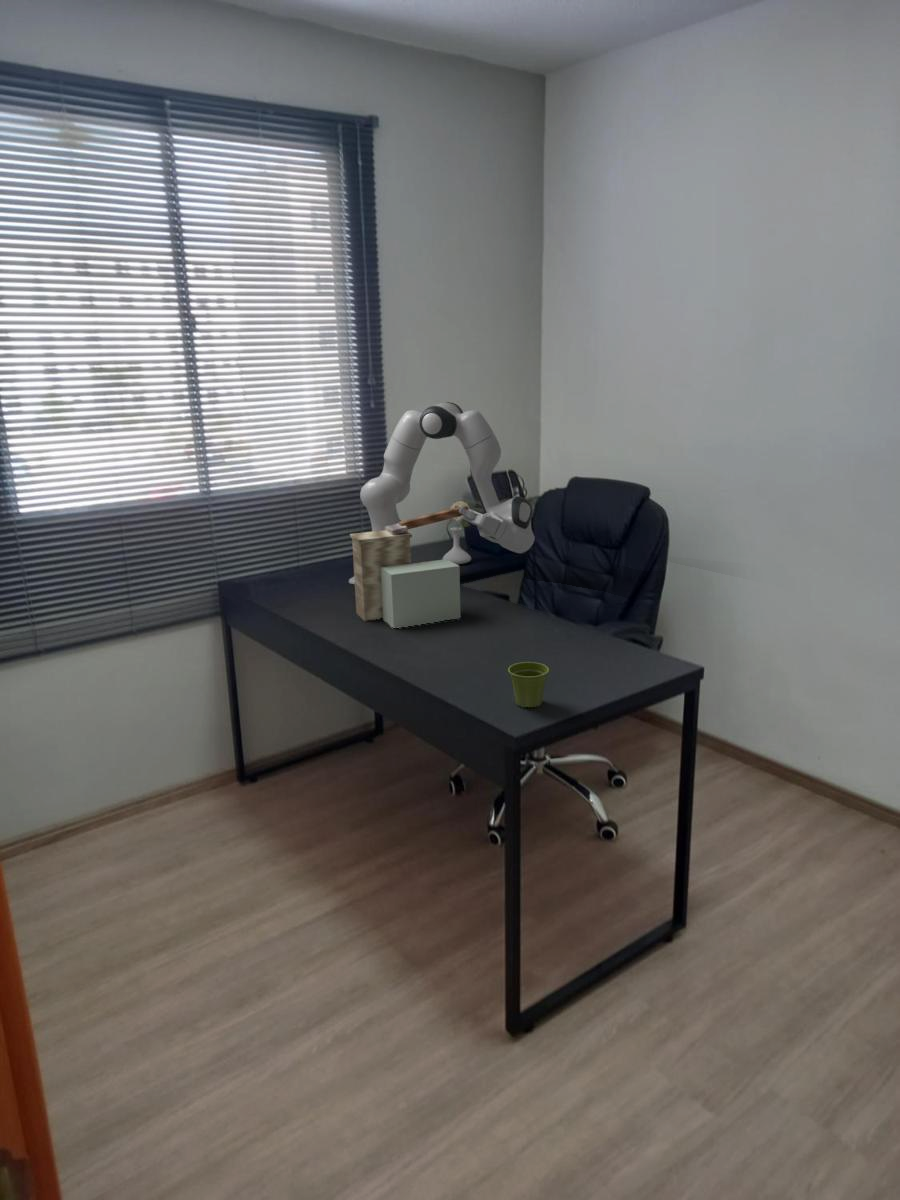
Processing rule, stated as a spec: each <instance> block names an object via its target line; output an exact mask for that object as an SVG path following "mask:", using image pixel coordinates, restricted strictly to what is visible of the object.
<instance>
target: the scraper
mask: <svg viewBox="0 0 900 1200" xmlns="http://www.w3.org/2000/svg"><path fill="white" fill-rule="evenodd" d="M468 507H469V505H468V506H461V508H464V509H466V510H468ZM459 508H460V507H457V508H453V509H451V508H449V509H446V510H441V511H438V512H434V513H430V514H426V515H422V516H417V517H415V518H409V519H406V520H401V522H399V523H398V524H394V525H390V526H386V527H385V530H386V532H388V533H390V534H391V535H396V534H400V533H404V532H409V530H412V529H415V528H418V527H423V526H427V525H431V524H435V523H438V522H439V523H440V522H442V521H446V520H451V519H453V518H455V517H459V516H463V514H461V513H459V512H458V510H459ZM468 511H469V510H468Z"/></svg>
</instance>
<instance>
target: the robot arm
mask: <svg viewBox="0 0 900 1200" xmlns="http://www.w3.org/2000/svg"><path fill="white" fill-rule="evenodd" d="M463 411H464V410H463V409H462V408H461V407H460V406H459V405H458V404H457V403H455V402H450V401H445V402H440V403H436V404H434V405H431V406H429V407H427V408H426V409H424V410H423V412H422V411H419V410H416V409H410V410H407V411H405V412H404V413H403V415H402V416H401V418H400V419H399V421H398V422H397V424H396V425H395V428H394V431H393V432H392V434H391V437H390V440H389V442H388V444H387V447H386V448H385V451H384V454H383V459H384V462H383V467H382V472H381V473H380V474H379V475H378V476H376V477H374V478H371V479H369V480H367V482H366V483H365V484H363V486H362V487H361V490H360V493H359V495H360V496H359V497H360V501H361V503H362V504H363V506H364V507H365V508H366V510H367V513H368V516H369V520H370V525H371V532H373V531H382V530H385V527H386V526H390V525H394V524H398V523H399V522H401V521H402V520H401V519H400V516H399V513H398V510H397V504H399V503H401V502H402V501H404V500H405V498H407V496H408V495H409V494H410V490H411V479H412V474H413V470H414V467H415V465H416V463H417V460H418V458H419V456H420V453H421V451H422V449H423V446H424V444H425V442H426V440H427V438H428V439H433V440H439V439H443V438H444V439H445V438H450V437H453V436H454V437H456V438H457V439H458V440H459V442H460V443H461V445H462V447H463V449H464V451H465V453H466V455H467V457H468V461H469V465H470V476H471V480H472V483H473V485H474V488H475V491H476V494H477V496H478V500H479V502H480V504H481V507H482V511H483V513H481V512H478V511H475V510H474V509H471V508H469V509H468V510H469V511H468V510H466V509H464V508H461V506H459V507H460V508H459V510H458V512H459V513H461V514H463V516H459V517H460V518H462V520H463V521H465V520H466V521H467V522H468V523H470V524H471V525H475V526H477V527H476V528H477V531H478V533H479V535H480V537H481V538H484V539H486V540H488V541H490V542H492V543H496V544H497V545H500V546H501V547H502V548H504V549H506V550H508V551H511V552H513V553H517V554H524V553H526V552H527V551H529V550H530V549H531V548H532V546H533V544H534V542H535V539H536V537H535V535H534V532H533V529H532V516H533V507H532V504H531V503H530V501H528V500H527V499H526V498H525V497H523V496H519V495H518V496H515V497H512V498H510V499H508V500H506V501H504V502H500V501H499V498H498V495H497V492H496V490H495V488H494V487H495V486H494V485H493V482H492V475H493V472H494V470H495V468H496V466H497V464H498V463H499V461H500V458H501V455H502V449H501V446H500V445H501V444H500V443H499V440H498V438H497V436H496V435H495V432H494V431H493V429H492V428H491V425H490V424H489V422H488V421H487V420H486V418H485V417H484V416H483V414H482V413H481V412H480V411H478V410H475V409H470V410H467V411H464V412H463ZM457 507H458V506H456V505H455V506H454V508H457ZM348 583H349V584H352V585H355V579H354V576H352V577H351V578H349V579H348Z"/></svg>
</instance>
